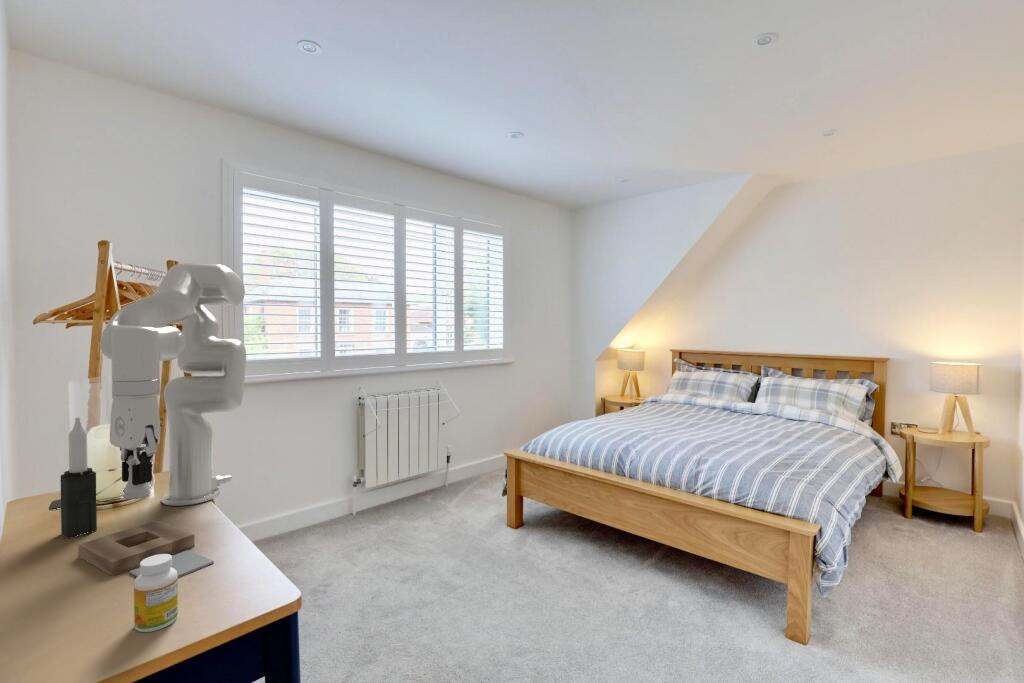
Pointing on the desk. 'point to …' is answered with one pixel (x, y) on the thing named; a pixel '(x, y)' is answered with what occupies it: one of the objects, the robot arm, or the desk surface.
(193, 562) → the rubber mat
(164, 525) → the collar block
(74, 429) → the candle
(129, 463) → the rook chess piece
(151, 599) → the supplement bottle
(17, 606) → the desk surface
